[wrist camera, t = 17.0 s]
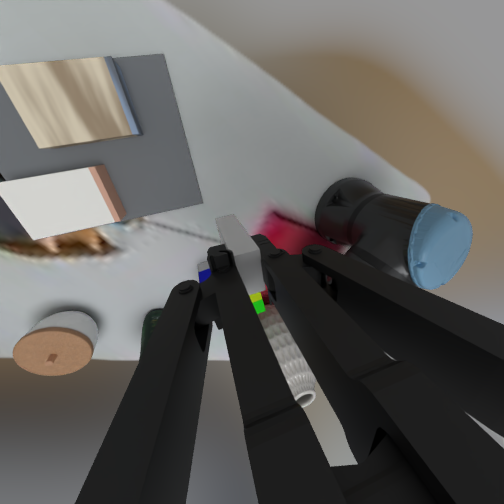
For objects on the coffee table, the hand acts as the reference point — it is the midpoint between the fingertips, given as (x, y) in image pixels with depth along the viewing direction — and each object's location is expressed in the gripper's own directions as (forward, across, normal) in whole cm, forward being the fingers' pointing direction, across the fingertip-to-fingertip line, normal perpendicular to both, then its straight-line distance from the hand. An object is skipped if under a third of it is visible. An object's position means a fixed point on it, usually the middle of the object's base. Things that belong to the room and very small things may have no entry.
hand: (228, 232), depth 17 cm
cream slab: (+22, +14, -2) cm, 26 cm away
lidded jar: (+25, +32, +21) cm, 46 cm away
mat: (+24, +14, -8) cm, 29 cm away
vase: (+25, -7, +36) cm, 44 cm away
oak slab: (+22, +7, -13) cm, 27 cm away
